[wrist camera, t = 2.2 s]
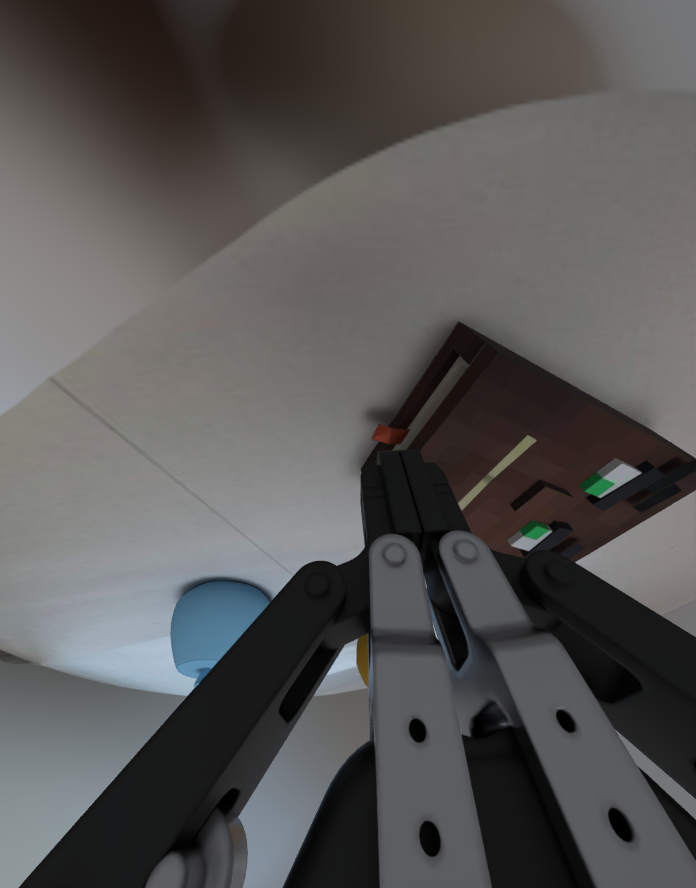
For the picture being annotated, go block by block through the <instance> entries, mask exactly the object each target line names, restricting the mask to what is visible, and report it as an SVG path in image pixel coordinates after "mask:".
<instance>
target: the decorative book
mask: <svg viewBox="0 0 696 888" xmlns="http://www.w3.org/2000/svg"><path fill="white" fill-rule="evenodd" d="M371 439H373V440H377V441H379V443H378V444H377V446H376V447H375V449H374V450H373V452H372V453H371V455H370V456H369V458H368V459H367V461H366V462H365V464H364V465H363V467H362V468H361V472H363V469H364V467H365V465H377V453H378V451H391V450H411V449H419V450H420V452H421V455H422V458H423V460H424V463H428V462H434V463H435V464H436V465H437V466H438V467H439V468H440V469H442V470H443V471H444V473H445V475H446V478H447V480H448V482H449V485H450V486H451V489H452V491H453V494H454V495H455V497H456V500H457V502H458V504H459V506H460V508H461V511H462V513H463V515H464V517H465V519H466V522H467V524H468V526H469V528H470V530H471V532H472V534H474V535H476V536H477V537H479V538H480V539H481V540H483V541H484V542H485V543H486V545H487V546H488V547H489V548H490V549H492V550H495V551H497V552H501V553H504V554H509V555H513V556H517V557H521V558H525V559H527V558H528V556H529V555H530V554H531V553H533V552H535V551H538V550H548V551H553V552H556V553H558V554H561V555H563V556H565V557H566V558H568V559H570V560H571V561H573V562H576V561H578V560H579V559H581V558H583V557H585V556H586V555H588V554H590V553H591V552H593V551H595V550H596V549H598V548H600V547H601V546H603V545H605V544H606V543H608V542H610V541H611V540H613V539H615V538H616V537H618V536H620V535H621V534H623V533H625V532H626V531H628V530H630V529H631V528H633V527H635V526H636V525H638V524H640V523H641V522H643V521H645V520H646V519H648V518H650V517H652V516H653V515H655V514H657V513H658V512H660V511H662V510H663V509H665V508H667V507H668V506H670V505H672V504H673V503H675V502H677V501H678V500H680V499H682V498H683V497H685V496H687V495H688V494H690V493H692V492H693V491H695V490H696V458H694V457H693V456H691V455H690V454H688V453H686V452H685V451H683V450H682V449H680V448H679V447H677V446H675V445H674V444H672V443H671V442H669V441H668V440H666V439H665V438H663V437H661V436H660V435H658V434H657V433H655V432H654V431H652V430H650V429H649V428H647V427H645V426H643V425H642V424H640V423H638V422H636V421H634V420H633V419H631V418H629V417H627V416H626V415H624V414H622V413H620V412H619V411H617V410H615V409H613V408H611V407H610V406H608V405H606V404H604V403H603V402H601V401H599V400H597V399H595V398H594V397H592V396H590V395H588V394H587V393H585V392H583V391H581V390H579V389H578V388H576V387H574V386H572V385H571V384H569V383H567V382H565V381H564V380H562V379H560V378H558V377H556V376H555V375H553V374H551V373H549V372H548V371H546V370H544V369H542V368H540V367H539V366H537V365H535V364H533V363H532V362H530V361H528V360H526V359H524V358H523V357H521V356H519V355H517V354H516V353H514V352H512V351H510V350H508V349H507V348H505V347H503V346H501V345H500V344H498V343H496V342H494V341H493V340H491V339H489V338H487V337H485V336H484V335H482V334H480V333H478V332H477V331H475V330H473V329H471V328H469V327H468V326H466V325H464V324H462V323H461V322H459V323H458V324H457V326H456V327H455V329H454V330H453V332H452V333H451V335H450V336H449V338H448V339H447V341H446V342H445V344H444V345H443V347H442V348H441V350H440V351H439V353H438V354H437V356H436V357H435V359H434V360H433V362H432V363H431V365H430V366H429V368H428V369H427V371H426V372H425V374H424V375H423V377H422V378H421V380H420V381H419V383H418V384H417V386H416V387H415V389H414V390H413V392H412V393H411V395H410V396H409V398H408V399H407V401H406V402H405V404H404V405H403V407H402V408H401V410H400V411H399V413H398V414H397V416H396V417H395V419H394V420H393V422H392V423H391V425H390V426H389V427H388V426H385V425H381V424H379V425H378V427H377V429H376V431H375V432H374V434H373V436H372V438H371Z"/></svg>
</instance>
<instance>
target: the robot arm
mask: <svg viewBox="0 0 696 888" xmlns="http://www.w3.org/2000/svg"><path fill="white" fill-rule="evenodd" d="M361 513H362V523H363V533H364V543H365V548H364V550H363V551H362V552H361V553H360V554H359V555H358V556H357V557H356V558H354V559H352V560H350V561H348V562H345V563H343V564H340V565H338V566H336V565H334V564H332V563H330V562H327V561H314V562H311V563H308V564H306V565H305V566H303V567H302V568H301V569H300V570H299V571H298V572H297V573H296V574H295V575H294V576H293V577H292V578H291V580H290V581H289V582H288V583H287V584H286V585H285V586H284V588H283V589H282V590H281V591H280V592H279V593H278V594H277V595H276V597H275V598H274V599H273V600H272V601H271V602H270V603H269V605H268V606H267V607H266V608H265V609H264V610H263V611H262V612H261V614H260V615H259V616H258V617H257V618H256V619H255V620H254V622H253V623H252V624H251V625H250V626H249V627H248V628H247V629H246V631H245V632H244V633H243V634H242V635H241V636H240V637H239V639H238V640H237V641H236V642H235V643H234V644H233V645H232V646H231V648H230V649H229V650H228V651H227V652H226V653H225V654H224V655H223V657H222V658H221V659H220V660H219V661H218V662H217V663H216V665H215V666H214V667H213V668H212V669H211V670H210V671H209V672H208V674H207V675H206V676H205V677H204V678H203V679H202V680H201V682H200V683H199V684H198V685H197V686H196V687H195V688H194V689H193V691H192V692H191V693H190V694H189V695H188V696H187V698H186V699H185V700H184V701H183V702H182V703H181V704H180V705H179V706H178V708H177V709H176V710H175V711H174V712H173V713H172V714H171V716H170V717H169V718H168V719H167V720H166V721H165V722H164V724H163V725H162V726H161V727H160V728H159V729H158V730H157V731H156V733H155V734H154V735H153V736H152V737H151V738H150V739H149V741H148V742H147V743H146V744H145V745H144V746H143V747H142V748H141V749H140V751H139V752H138V753H137V754H136V755H135V756H134V757H133V759H132V760H131V761H130V762H129V763H128V764H127V765H126V766H125V768H124V769H123V770H122V771H121V772H120V773H119V774H118V776H117V777H116V778H115V779H114V780H113V781H112V782H111V784H110V785H109V786H108V787H107V788H106V789H105V790H104V791H103V793H102V794H101V795H100V796H99V797H98V798H97V800H95V802H94V803H93V804H92V805H91V806H90V807H89V808H88V810H87V811H86V812H85V813H84V814H83V815H82V816H81V817H80V819H79V820H78V821H77V822H76V823H75V825H73V826H72V828H71V829H70V830H69V831H68V832H67V833H66V834H65V836H64V837H63V838H62V839H61V840H60V841H59V842H58V843H57V845H56V846H55V847H54V848H53V849H52V850H51V851H50V853H49V854H48V855H47V856H46V857H45V858H44V859H43V860H42V862H41V863H40V864H39V865H38V866H37V867H36V868H35V870H34V871H33V872H32V873H31V874H30V875H29V876H28V878H27V879H26V880H25V881H24V882H23V883H22V884H21V886H20V887H19V888H243V884H244V879H245V875H246V868H247V854H248V851H247V840H246V834H245V831H244V828H243V825H242V823H241V821H240V820H239V818H238V816H239V815H240V813H241V811H242V810H243V808H244V806H245V805H246V803H247V802H248V800H249V798H250V797H251V795H252V794H253V792H254V790H255V789H256V787H257V786H258V784H259V782H260V781H261V779H262V777H263V776H264V774H265V773H266V771H267V769H268V768H269V766H270V765H271V763H272V761H273V760H274V758H275V756H276V755H277V753H278V752H279V750H280V748H281V747H282V745H283V744H284V742H285V740H286V739H287V737H288V736H289V734H290V732H291V731H292V729H293V728H294V726H295V724H296V722H297V721H298V719H299V718H300V716H301V714H302V713H303V711H304V710H305V708H306V706H307V705H308V703H309V702H310V700H311V699H312V697H313V695H314V694H315V692H316V690H317V689H318V687H319V686H320V684H321V682H322V681H323V679H324V678H325V676H326V674H327V673H328V671H329V669H330V668H331V666H332V665H333V663H334V661H335V660H336V658H337V657H338V655H339V653H340V652H341V650H342V649H343V647H344V645H345V644H347V643H349V642H351V641H353V640H355V639H357V638H360V637H362V636H364V635H366V634H368V667H369V741H368V742H367V743H365V744H364V745H362V746H361V747H360V748H358V749H357V750H356V751H355V752H354V753H353V754H352V755H351V756H350V757H349V758H348V759H347V760H346V762H345V763H344V764H343V765H342V767H341V768H340V769H339V771H338V772H337V774H336V776H335V777H334V779H333V781H332V782H331V784H330V786H329V788H328V790H327V792H326V794H325V796H324V798H323V800H322V802H321V805H320V807H319V809H318V811H317V813H316V816H315V818H314V820H313V823H312V824H311V827H310V829H309V831H308V833H307V835H306V838H305V840H304V842H303V844H302V846H301V848H300V851H299V853H298V855H297V857H296V859H295V862H294V864H293V866H292V868H291V871H290V872H289V875H288V877H287V879H286V881H285V883H284V886H283V888H696V820H695V819H694V818H693V817H692V816H691V815H690V814H689V813H688V812H687V811H686V810H685V809H684V808H682V807H681V806H680V805H679V804H678V803H677V802H676V801H675V800H674V799H673V798H672V797H671V796H670V795H669V794H667V793H666V792H665V791H664V790H663V789H662V788H661V787H660V786H659V785H658V784H657V783H656V782H655V781H653V780H652V779H651V778H650V777H649V776H648V775H647V774H646V773H645V772H644V771H642V770H641V769H640V768H639V767H638V766H637V765H636V763H635V762H634V760H633V759H632V757H631V755H630V754H629V752H628V750H627V749H626V747H625V745H624V744H623V742H622V741H621V739H620V738H619V736H618V734H617V732H616V731H615V729H616V730H617V731H618V732H619V733H620V734H621V735H622V736H624V737H625V738H626V739H627V740H628V741H629V742H631V743H632V744H633V745H634V746H635V747H636V748H637V749H639V750H640V751H641V752H642V753H643V754H645V755H646V756H647V757H648V758H649V759H650V760H651V761H652V762H654V763H655V764H656V765H657V766H658V767H659V768H661V769H662V770H663V771H664V772H665V773H666V774H667V775H669V776H670V777H671V778H672V779H673V780H674V781H676V782H677V783H678V784H679V785H680V786H681V787H683V788H684V789H685V790H686V791H687V792H688V793H690V794H691V795H692V796H693V797H694V798H695V799H696V637H694V636H693V635H691V634H690V633H688V632H686V631H685V630H683V629H681V628H680V627H678V626H677V625H675V624H673V623H672V622H670V621H668V620H667V619H665V618H663V617H662V616H660V615H659V614H657V613H656V612H654V611H652V610H651V609H649V608H647V607H646V606H644V605H643V604H641V603H639V602H638V601H636V600H635V599H633V598H631V597H630V596H628V595H626V594H625V593H623V592H622V591H620V590H618V589H617V588H615V587H613V586H612V585H610V584H609V583H607V582H605V581H604V580H602V579H601V578H599V577H597V576H596V575H594V574H592V573H591V572H589V571H588V570H586V569H584V568H583V567H581V566H579V565H578V564H576V563H575V562H573V561H571V560H570V559H568V558H566V557H565V556H563V555H561V554H558V553H556V552H553V551H548V550H538V551H535V552H533V553H531V554H530V555H529V556H528V558H527V559H525V558H521V557H517V556H513V555H509V554H504V553H501V552H497V551H495V550H492V549H490V548H489V547H488V546H487V545H486V543H485V542H484V541H483V540H481V539H480V538H479V537H477V536H476V535H474V534H472V532H471V530H470V528H469V526H468V524H467V522H466V519H465V517H464V515H463V513H462V511H461V508H460V506H459V504H458V502H457V500H456V497H455V495H454V494H453V491H452V489H451V486H450V485H449V482H448V480H447V478H446V475H445V473H444V471H443V470H442V469H440V468H439V467H438V466H437V465H436V464H435V463H434V462H428V463H424V460H423V458H422V455H421V452H420V450H419V449H411V450H391V451H378V453H377V465H365V467H364V469H363V472H362V474H361ZM424 577H425V579H424ZM425 581H426V585H427V589H426V585H425ZM432 621H433V623H432ZM433 624H434V628H435V631H436V634H437V637H438V639H437V638H436V636H435V632H434V628H433ZM459 725H460V726H459ZM460 728H461V731H462V734H461V731H460Z"/></svg>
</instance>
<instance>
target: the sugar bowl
mask: <svg viewBox="0 0 696 888" xmlns="http://www.w3.org/2000/svg"><path fill="white" fill-rule="evenodd" d="M269 603H270V602H269V601H268V599H267V598H266V596H265V595H264V594H263V593H262V592H261V591H260V590H258V589H257V588H255V587H253V586H250V585H247V584H244V583H239V582H233V581H214V582H208V583H204V584H201V585H199V586H197V587H196V588H194V589H192V590H191V591H189V592H188V593H186V594H185V595H184V596H183V597H181V599H180V600H179V601H178V602H177V604H176V607H175V609H174V613H173V617H172V622H171V646H172V652H173V658H174V662H175V666H176V669H177V670H178V672H179V673H181V674H183V675H185V676H188V677H192V678H197V680H196V682H195V684H194V687H196V686H197V685H198V684H199V683H200V682H201V680H202V679H203V678H204V677H205V676H206V675H207V674H208V672H209V671H210V670H211V669H212V668H213V667H214V666H215V665H216V663H217V662H218V661H219V660H220V659H221V658H222V657H223V655H224V654H225V653H226V652H227V651H228V650H229V649H230V648H231V646H232V645H233V644H234V643H235V642H236V641H237V640H238V639H239V637H240V636H241V635H242V634H243V633H244V632H245V631H246V629H247V628H248V627H249V626H250V625H251V624H252V623H253V622H254V620H255V619H256V618H257V617H258V616H259V615H260V614H261V612H262V611H263V610H264V609H265V608H266V607H267V606H268V605H269Z"/></svg>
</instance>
